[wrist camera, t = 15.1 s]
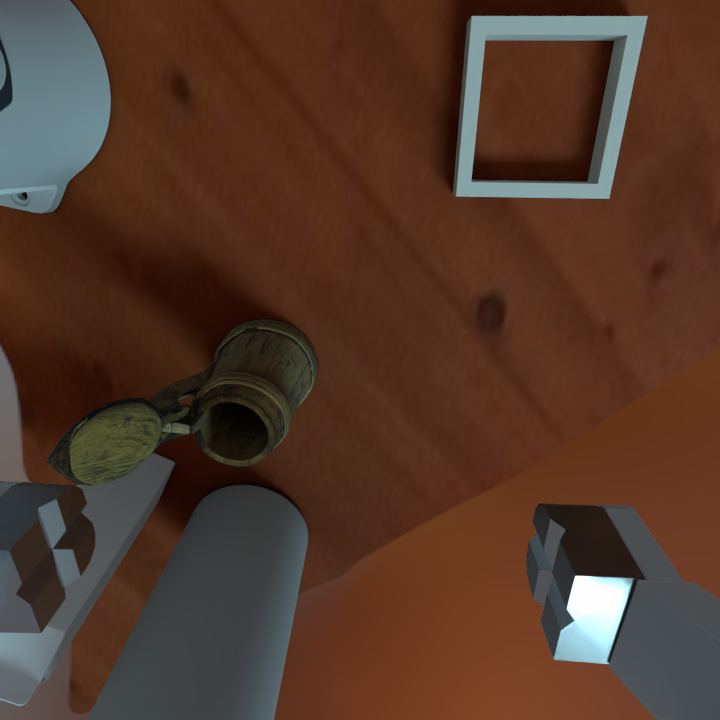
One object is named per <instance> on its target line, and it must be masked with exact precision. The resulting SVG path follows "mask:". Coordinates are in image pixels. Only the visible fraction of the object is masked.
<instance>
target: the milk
mask: <svg viewBox="0 0 720 720" xmlns="http://www.w3.org/2000/svg"><path fill="white" fill-rule="evenodd" d="M174 465H175V462H174V461H171V460H169V459H167V458H165V457H162V456H160V455H158V454H155V453H152V454H151V455H150V456H149V458H148V459H147V460H146V461H145V462H144V463H143V464H142V465H141V466H139V467H138V468H137V469H135V470H134V471H133V472H131V473H129V474H127V475H125V476H123V477H121V478H118V479H116V480H114V481H111V482H109V483H104V484H99V485H93V486H88V485H81V484H79V485H78V486H77V487H79V488H81V489H82V490H83V493H84V496H85V499H86V502H87V505H86V506H85V508H84V509H83V511H82V513H83V514H84V515H85V516H86V517H87V518H88V519H89V520H90V521H91V522H92V523H93V526H94V530H95V549H94V552H93V555H92V558H91V561H90V563H89V565H88V566H87V568H86V569H85V571H84V573H83V574H82V576H81V577H79V578H78V579H76V580H75V581H73V582H72V583H70V584H69V585H67V586H65V596H66V599H65V600H64V602H63V603H62V604H61V606H60V607H59V609H58V610H57V612H56V613H55V614H54V616H53V617H52V619H51V620H50V622H49V623H48V624H47V626H46V627H45V629H44V630H43V632H42V633H0V700H3V701H6V702H9V703H12V704H15V705H18V706H22V705H24V704H26V703H27V702H28V701H29V699H30V698H31V696H32V695H33V693H34V692H35V690H36V689H37V687H38V685H39V684H40V683H42V682H45V681H47V679H48V678H49V676H50V674H51V673H52V671H53V670H54V668H55V666H56V665H57V663H58V662H59V660H60V659H61V657H62V655H63V654H64V652H65V650H66V649H67V647H68V646H69V644H70V642H71V641H72V639H73V638H74V636H75V634H76V633H77V631H78V630H79V628H80V626H81V625H82V623H83V622H84V620H85V618H86V617H87V615H88V614H89V612H90V610H91V609H92V607H93V606H94V604H95V602H96V601H97V599H98V598H99V596H100V594H101V593H102V591H103V590H104V588H105V586H106V585H107V583H108V582H109V580H110V578H111V577H112V575H113V574H114V572H115V570H116V569H117V567H118V566H119V564H120V562H121V561H122V559H123V558H124V556H125V554H126V553H127V551H128V550H129V548H130V546H131V545H132V543H133V542H134V540H135V538H136V537H137V535H138V534H139V532H140V530H141V529H142V527H143V526H144V524H145V522H146V521H147V519H148V518H149V516H150V514H151V513H152V511H153V510H154V508H155V506H156V505H157V503H158V501H159V499H160V497H161V494H162V492H163V490H164V488H165V485H166V483H167V481H168V479H169V476H170V474H171V472H172V470H173V467H174Z"/></svg>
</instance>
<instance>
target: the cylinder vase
mask: <svg viewBox="0 0 720 720" xmlns="http://www.w3.org/2000/svg"><path fill="white" fill-rule="evenodd" d="M307 544H308V531H307V527H306V523H305V521H304V519H303V517H302V515H301V514H300V512H299V511H298V509H297V508H296V507H295V506H294V505H293V504H292V503H291V502H290V501H289V500H287V499H286V498H285V497H283V496H281V495H280V494H278V493H276V492H274V491H272V490H269V489H266V488H263V487H259V486H253V485H233V486H227V487H224V488H221V489H218V490H216V491H214V492H212V493H210V494H209V495H207V496H206V497H205V498H204V499H203V500H202V501H201V502H200V503H199V504H198V505H197V507H196V508H195V510H194V512H193V514H192V516H191V518H190V520H189V522H188V524H187V526H186V527H185V529H184V531H183V533H182V535H181V537H180V539H179V541H178V543H177V545H176V547H175V549H174V551H173V553H172V555H171V557H170V559H169V561H168V563H167V564H166V566H165V568H164V570H163V572H162V574H161V576H160V578H159V580H158V582H157V584H156V586H155V588H154V590H153V592H152V594H151V596H150V598H149V600H148V601H147V603H146V605H145V607H144V609H143V611H142V613H141V615H140V617H139V619H138V621H137V623H136V625H135V627H134V629H133V631H132V633H131V635H130V637H129V639H128V640H127V642H126V644H125V646H124V648H123V650H122V652H121V654H120V656H119V658H118V660H117V662H116V664H115V666H114V668H113V670H112V672H111V674H110V676H109V677H108V679H107V681H106V683H105V685H104V687H103V689H102V691H101V693H100V695H99V697H98V699H97V701H96V703H95V705H94V707H93V709H92V711H91V713H90V714H89V716H88V718H87V720H274V716H275V710H276V705H277V700H278V695H279V690H280V684H281V679H282V674H283V669H284V663H285V658H286V653H287V648H288V643H289V637H290V632H291V627H292V622H293V617H294V611H295V606H296V601H297V596H298V591H299V586H300V580H301V575H302V570H303V565H304V560H305V554H306V549H307Z"/></svg>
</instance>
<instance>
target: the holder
mask: <svg viewBox="0 0 720 720" xmlns="http://www.w3.org/2000/svg"><path fill="white" fill-rule="evenodd" d="M646 21H647V16H471V18H470V19H469V21H468V22H467V29H466V41H465V53H464V65H463V77H462V89H461V101H460V113H459V125H458V137H457V148H456V160H455V172H454V184H453V194H454V195H455V196H467V197H531V198H596V199H609V197H610V192H611V187H612V183H613V178H614V173H615V168H616V164H617V159H618V154H619V149H620V145H621V140H622V135H623V130H624V126H625V121H626V116H627V111H628V107H629V102H630V97H631V92H632V88H633V83H634V78H635V73H636V69H637V64H638V59H639V54H640V50H641V45H642V40H643V35H644V31H645V26H646ZM485 40H595V41H614V45H613V50H612V56H611V61H610V66H609V71H608V77H607V82H606V87H605V92H604V98H603V103H602V108H601V113H600V119H599V124H598V129H597V134H596V139H595V145H594V150H593V155H592V160H591V166H590V171H589V176H588V181H587V182H581V181H510V180H472V170H473V160H474V149H475V139H476V129H477V119H478V109H479V98H480V88H481V78H482V68H483V58H484V47H485Z"/></svg>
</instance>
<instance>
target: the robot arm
mask: <svg viewBox="0 0 720 720" xmlns="http://www.w3.org/2000/svg"><path fill="white" fill-rule="evenodd" d="M110 105H111V99H110V86H109V79H108V74H107V70H106V66H105V62H104V59H103V56H102V53H101V51H100V48H99V46H98V43H97V41H96V39H95V37H94V35H93V33H92V31H91V29H90V28H89V26H88V24H87V23H86V21H85V19H84V18H83V17H82V15H81V14H80V12H79V11H78V10H77V8H76V7H75V6H74V4H73V3H72V2H71V1H70V0H0V205H1V206H6V207H10V208H15V209H20V210H24V211H29V212H33V213H51V212H53V211H54V210H56V208H57V207H58V206H59V204H60V202H61V200H62V197H63V195H64V192H65V189H66V186H67V184H68V182H69V181H70V180H71V179H72V178H73V177H74V176H75V175H76V174H77V173H79V172H80V171H81V170H82V169H83V168H85V167H86V166H87V165H88V164H89V163H90V161H91V160H92V159H93V158H94V156H95V155H96V154H97V152H98V150H99V149H100V147H101V145H102V143H103V140H104V138H105V135H106V132H107V128H108V123H109V118H110ZM23 192H26V193H27V196H28V197H27V199H26V198H25V197H24V195H23ZM86 505H87V502H86V499H85V496H84V493H83V490H82V489H81V488H79V487H77V486H74V485H60V484H44V483H28V482H22V483H18V482H3V481H0V633H42V632H43V630H44V629H45V627H46V626H47V624H48V623H49V622H50V620H51V619H52V617H53V616H54V614H55V613H56V612H57V610H58V609H59V607H60V606H61V604H62V603H63V602H64V600H65V599H66V596H65V586H67V585H69V584H70V583H72V582H73V581H75V580H76V579H78V578H79V577H81V576H82V574H83V573H84V571H85V569H86V568H87V566H88V565H89V563H90V561H91V558H92V555H93V552H94V549H95V530H94V526H93V523H92V522H91V521H90V520H89V519H88V518H87V517H86V516H85V515H84V514H83V513H82V511H83V509H84V508H85V506H86ZM533 522H534V526H535V528H536V531H537V534H536V535H535V536H534V537H533V538H532V539H531V540H530V541H529V544H528V550H527V574H528V580H529V585H530V588H531V592H532V595H533V598H534V599H535V600H536V601H538V602H539V603H540V604H541V605H542V606H543V607H544V610H543V615H542V619H541V623H542V626H543V629H544V632H545V635H546V638H547V641H548V644H549V647H550V650H551V653H552V656H553V659H554V660H566V661H578V662H590V663H603V664H609V668H610V669H611V670H612V671H613V672H614V673H615V675H616V676H617V677H618V678H619V679H620V680H621V681H622V682H623V683H624V684H625V685H626V686H627V688H628V689H629V690H630V691H631V692H632V693H633V694H634V695H635V696H636V697H637V698H638V699H639V701H641V703H642V704H643V705H644V706H645V707H646V708H647V709H648V710H649V711H650V713H651V714H652V715H653V716H654V717H655V718H656V719H657V720H720V600H719V599H718V598H716V597H715V596H713V595H712V594H710V593H709V592H707V591H706V590H704V589H703V588H701V587H700V586H698V585H697V584H695V583H689V582H684V581H683V580H682V578H681V577H680V575H679V574H678V573H677V571H676V570H675V568H674V567H673V565H672V564H671V562H670V561H669V559H668V558H667V557H666V555H665V554H664V552H663V550H662V549H661V548H660V546H659V545H658V543H657V542H656V540H655V539H654V537H653V536H652V534H651V533H650V531H649V530H648V528H647V527H646V526H645V524H644V523H643V521H642V520H641V518H640V517H639V515H638V514H637V513H636V511H635V510H634V509H633V508H632V507H630V506H629V505H598V506H595V505H567V504H538V506H537V508H536V510H535V514H534V519H533Z"/></svg>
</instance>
